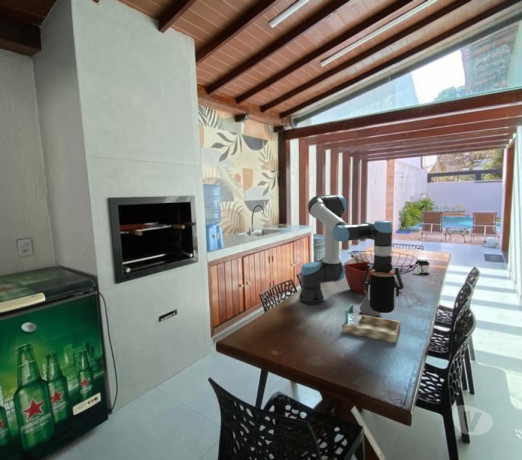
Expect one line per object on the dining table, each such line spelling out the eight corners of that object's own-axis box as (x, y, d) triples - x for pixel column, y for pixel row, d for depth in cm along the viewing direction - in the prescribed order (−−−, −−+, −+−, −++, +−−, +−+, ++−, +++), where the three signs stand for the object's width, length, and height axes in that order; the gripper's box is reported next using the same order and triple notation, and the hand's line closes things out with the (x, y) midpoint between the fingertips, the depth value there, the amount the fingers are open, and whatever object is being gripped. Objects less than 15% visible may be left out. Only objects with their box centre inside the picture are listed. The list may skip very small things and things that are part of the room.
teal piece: (343, 329, 145) (343, 311, 143) (350, 319, 155) (350, 302, 154) (356, 332, 142) (356, 314, 140) (362, 321, 152) (362, 304, 151)
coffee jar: (397, 307, 141) (398, 270, 139) (390, 315, 133) (391, 276, 131) (374, 303, 148) (374, 267, 145) (366, 310, 140) (366, 272, 137)
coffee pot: (356, 315, 162) (357, 288, 160) (362, 308, 171) (363, 283, 169) (399, 324, 150) (400, 295, 148) (403, 316, 159) (404, 289, 157)
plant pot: (385, 292, 195) (386, 267, 192) (361, 297, 188) (362, 271, 186) (365, 284, 212) (365, 261, 210) (342, 288, 205) (342, 264, 203)
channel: (342, 332, 144) (342, 324, 143) (349, 320, 157) (349, 312, 156) (396, 343, 132) (396, 335, 131) (400, 329, 145) (400, 321, 144)
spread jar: (429, 272, 236) (430, 257, 235) (428, 276, 227) (429, 261, 225) (412, 270, 243) (413, 256, 241) (411, 274, 233) (411, 259, 232)
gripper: (355, 254, 140) (354, 299, 142) (410, 258, 128) (408, 307, 131) (358, 251, 146) (358, 295, 149) (411, 254, 134) (410, 302, 137)
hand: (382, 301), depth 140 cm, fingers closed on coffee jar, 10 cm apart
